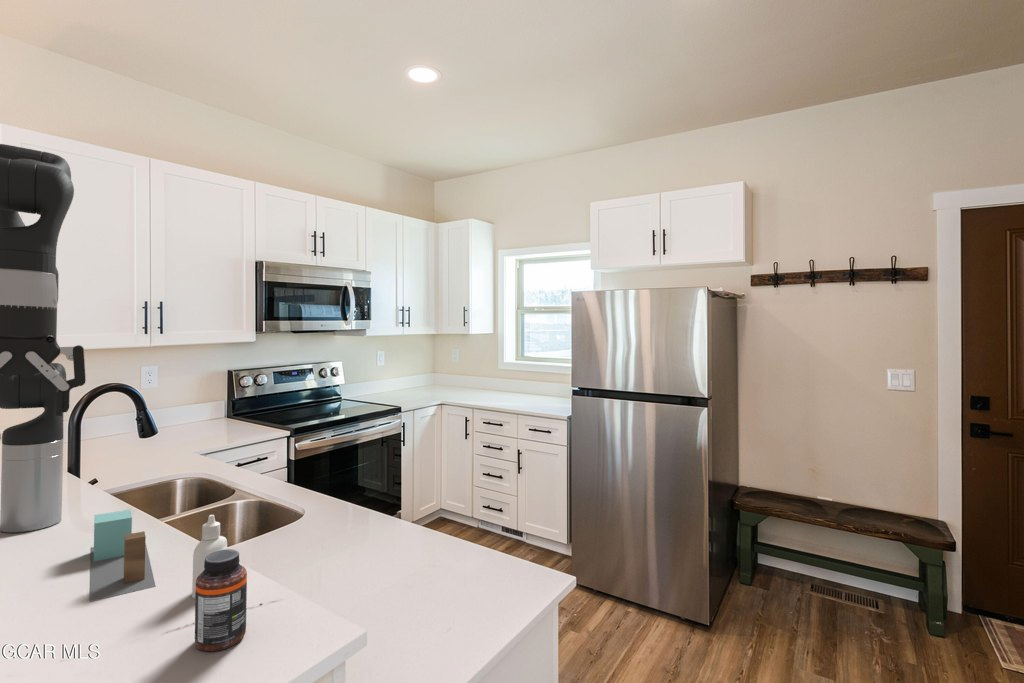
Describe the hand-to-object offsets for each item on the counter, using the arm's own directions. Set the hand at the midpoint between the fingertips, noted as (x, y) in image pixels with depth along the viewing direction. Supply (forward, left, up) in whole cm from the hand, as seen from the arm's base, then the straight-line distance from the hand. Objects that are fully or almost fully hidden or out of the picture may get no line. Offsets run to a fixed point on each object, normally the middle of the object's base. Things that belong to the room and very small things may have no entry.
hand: (19, 418), depth 72 cm
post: (-2, +14, -27) cm, 31 cm away
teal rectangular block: (-16, +11, -27) cm, 33 cm away
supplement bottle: (+24, +22, -28) cm, 43 cm away
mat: (-9, +12, -28) cm, 32 cm away
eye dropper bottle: (+9, +23, -28) cm, 37 cm away
